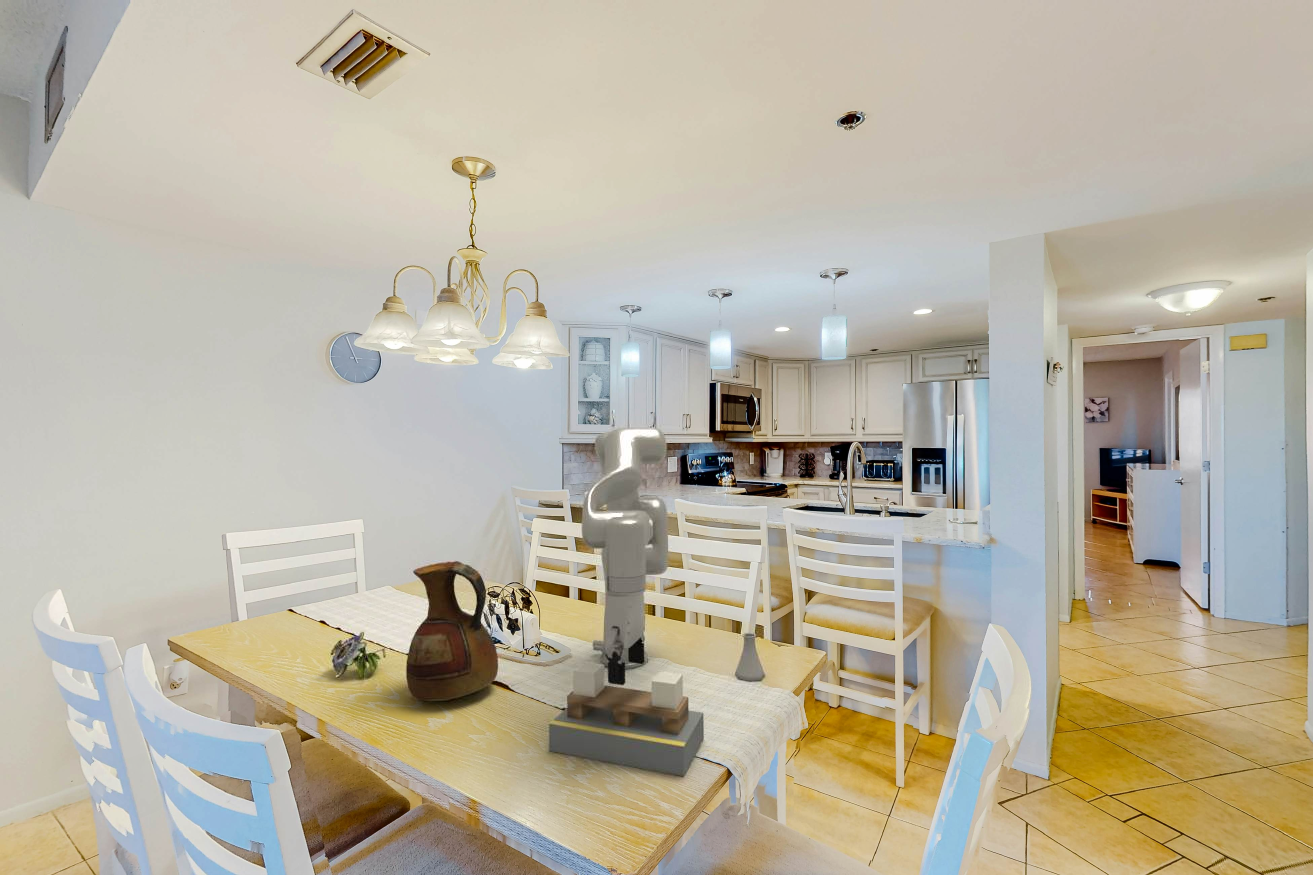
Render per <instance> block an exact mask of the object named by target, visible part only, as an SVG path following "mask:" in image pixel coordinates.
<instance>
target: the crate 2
mask: <svg viewBox="0 0 1313 875" xmlns="http://www.w3.org/2000/svg"><path fill="white" fill-rule="evenodd" d="M683 678H684V677H683V674H680V673H674V672H673V673H672V672H665V671H659V672H658V673H657V674H656V675H655V676H654V678H653V679H652V680H651V692H652V706H656V707H663V708H669V709H676V708H677V707H678V705H679V704H680V702H681V701H682V699H683V696H684V686H683V685H684V684H683V683H684V680H683Z"/></svg>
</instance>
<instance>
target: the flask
mask: <svg viewBox="0 0 1313 875" xmlns="http://www.w3.org/2000/svg"><path fill="white" fill-rule="evenodd" d="M742 637H743V648H742V652H741V654H740V655H741V656H740V658H739V661H738V664H737V667H736V669H735V673H734V674H735V677H736V678H737V679H739V680H743V681H748V682H750V681H753V682H755V681H763V679H765V676H766V674H765V672H764V669H763V665H762V662H761V660H760V658H759V654H758V651H757V648H756V638H757V635H756V633H755V632H744V633H743V634H742Z"/></svg>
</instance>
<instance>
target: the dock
mask: <svg viewBox="0 0 1313 875" xmlns="http://www.w3.org/2000/svg"><path fill="white" fill-rule="evenodd" d="M704 720H705V719H704V712H703V711H702V712H701V711H693V710H689V719H688V720H687V722H686V724H685V725H684V727H683V729H682V730H681V732H680V733H679V735H674V734H668V733H662V717H660V716H653V715H647V714H640V713H639V715H638V716H637V717H636V718H635V720H634V721H633V722H632V723H631V725H630V726H629V727H625V726H619V725H613V709H608V708H601V707H595V706H594V707H593V708H592V709H591V710H590V712H589V713H588V714H587V715H586V716H585V717H584V718H583V719H576V718H570V717H567V707H566V708H565V709H564V710H563V711H561V712H560V713H559V714H558V715H557V716H556V717H554V719H552V720H551V721H550V722H549V723H548V735H549V736H548V738H549V739H548V746H549V747H548V748H549V749H548V750H549V752H553V753H558V754H564V755H569V756H575V757H580V758H585V759H590V760H594V761H595V760H596V761H600V762H606V763H612V764H616V765H623V766H627V767H632V768H639V769H641V770H642V769H643V770H648V771H654V772H658V773H664V774H670V775H675V776H678V777H679V776H680V777H685V776H686V774H687V772H688V770H689V768H690V766H691V764H692V762H693V761H694V759H695V757H696V755H697V753H698V751H699V749H700V748H701V745H702V743H703V742H704V738H705V735H704V733H705V732H704V727H705V726H704V725H705V724H704V722H705V721H704Z"/></svg>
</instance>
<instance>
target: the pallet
mask: <svg viewBox="0 0 1313 875" xmlns="http://www.w3.org/2000/svg"><path fill="white" fill-rule="evenodd" d="M604 687H605V688H604V689H603V690H602V691H601V692H600V693H599V694H598V695H596V696H595V697H588V696H582V695H575V694H573V690H572V691H571V692H570V693H569V694H567V695H566V708H567V717H570V718H576V719H583V718H584V717H585V716H586V715H587V714H588V713H589V712H590V710H591V709H592V708H593V707H594V706H595V707H601V708H608V709H613V725H619V726H625V727H629V726H630V725H631V723H632V722H633V721H634V720H635V718H636V717H637V716H638V715H639V713H640V714H647V715H653V716H660V717H662V733H668V734H674V735H679V733H680V732H681V730H682V729H683V727H684V725H685V724H686V722H687V720H688V719H689V711H690V710H689V708H690V707H689V696H684V695H683V699H682V701H681V702H680V704H679V705H678V707H677V708H676V709H669V708H663V707H656V706H652V691H646V690H640V689H634V688H633V689H632V688H626V687H617V686H611V685H605V684H604Z"/></svg>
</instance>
